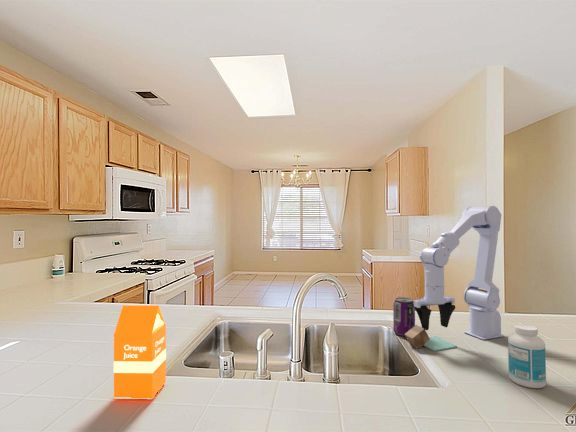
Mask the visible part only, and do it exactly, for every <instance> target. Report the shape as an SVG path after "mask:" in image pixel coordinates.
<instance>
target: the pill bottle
mask: <svg viewBox="0 0 576 432" xmlns="http://www.w3.org/2000/svg"><path fill="white" fill-rule="evenodd" d="M513 328H514V332H512V333H510V334H509V335H508V338H507V349H508V354H507V355H508V356H507V357H508V377H509V379H510V380H511V381H512V382H514V383H515V384H517V385H518V386H522V387H525V388H531V389H542V388H544V387H546V384H547V369H546V368H547V367H546V364H547V363H546V359H547V358H546V343H545V341H544V339H543V338H541V337H540V336H538V334H539V329H538V327H537V326H533V325H530V324H523V323H516V324H514V327H513Z"/></svg>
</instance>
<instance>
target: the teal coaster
mask: <svg viewBox="0 0 576 432" xmlns="http://www.w3.org/2000/svg"><path fill="white" fill-rule="evenodd" d="M429 338H430V340H429V341H427V342H426V343H425V344H424V345H423V346H422V347H424V348H427V349H429V350H431V351H432V352H437V351H442V350H443V351H444V350H450V349H455V348H456V349H457V348H458V345H455V344H453V343H451V342H449V341H447V340H444V339H442V338H440V337H438V336H429Z"/></svg>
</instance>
